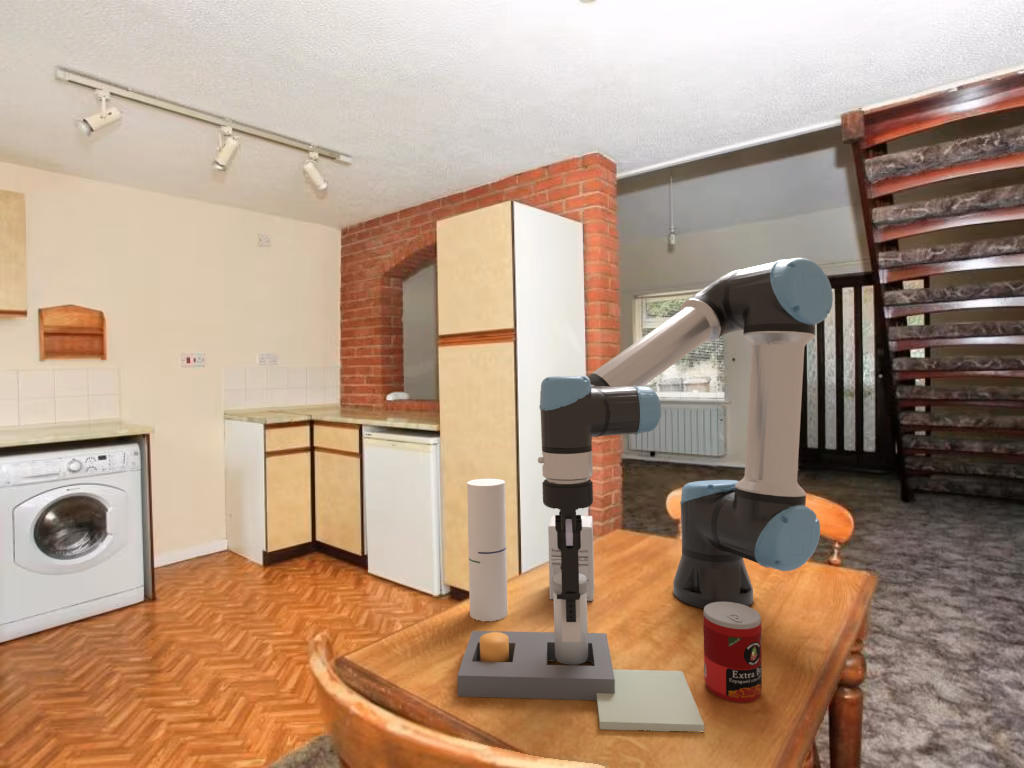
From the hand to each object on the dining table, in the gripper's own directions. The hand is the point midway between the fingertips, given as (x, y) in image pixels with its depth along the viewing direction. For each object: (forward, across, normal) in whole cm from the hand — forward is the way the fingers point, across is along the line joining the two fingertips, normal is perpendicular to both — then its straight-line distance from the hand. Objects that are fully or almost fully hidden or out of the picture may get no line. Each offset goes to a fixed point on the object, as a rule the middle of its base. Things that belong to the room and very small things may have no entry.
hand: (570, 631), depth 87 cm
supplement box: (+7, -32, +1) cm, 33 cm away
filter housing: (+6, 0, -5) cm, 8 cm away
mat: (+6, +7, +10) cm, 14 cm away
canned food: (+7, +3, +23) cm, 24 cm away
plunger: (+5, 0, -12) cm, 13 cm away
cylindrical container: (+7, -21, -15) cm, 27 cm away
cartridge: (+4, 0, 0) cm, 4 cm away
